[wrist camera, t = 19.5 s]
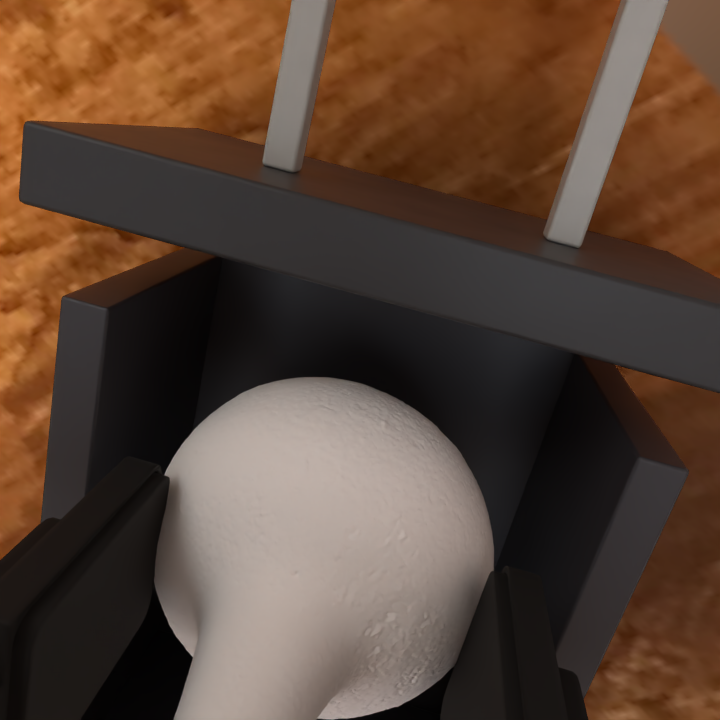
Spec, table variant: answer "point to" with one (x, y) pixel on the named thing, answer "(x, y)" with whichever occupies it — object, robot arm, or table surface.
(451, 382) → the drawer
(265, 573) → the garlic bulb
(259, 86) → the table surface
